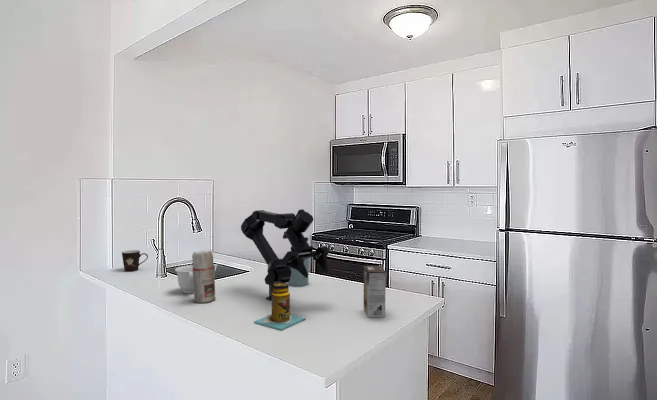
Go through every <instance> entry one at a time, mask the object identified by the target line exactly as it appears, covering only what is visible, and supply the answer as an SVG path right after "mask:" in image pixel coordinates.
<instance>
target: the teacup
mask: <svg viewBox="0 0 657 400" xmlns="http://www.w3.org/2000/svg"><path fill="white" fill-rule="evenodd" d="M174 271H175V272H176V276H177V277H176V278H177V281H178V286H179V288H180V289H182V290H183V293H184V294H194V285H193V264H191V265H189V264H188V265H183V266H182V265H181V266H179V267H176V268H175V269H174Z"/></svg>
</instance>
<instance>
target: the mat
mask: <svg viewBox="0 0 657 400" xmlns="http://www.w3.org/2000/svg"><path fill="white" fill-rule="evenodd" d="M270 315H272V313H271V314H270ZM290 315H292V317H291V321H290V323H264V321H265V319H266V317H267V315H266V316H264V317H261V318H259V319H256V320H253V323H254V324H256V325H260V326H264V327H267V328H271V329H275V330H279V331H282V332H283V331H284V330H287V329H289V328H291V327H293V326H294V325H298V324H299V323H302V322H303V321H306V317H303V316H301V315H295V314H291V313H290Z"/></svg>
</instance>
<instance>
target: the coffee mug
mask: <svg viewBox="0 0 657 400" xmlns="http://www.w3.org/2000/svg"><path fill="white" fill-rule="evenodd" d="M143 255H145V256H146V258H145V259H144V260H143V261H142V262H140V258H141V256H143ZM121 257H122V264H123V268H124V272H125V273H133V272H138V271H139V266H140V265H141V264H143V263H145V262H146V261H147V260H148V258H149V256H148V254H147V253H145V252H143V253H141V251H140V250H137V249H131V250H130V249H129V250H124V251H121Z"/></svg>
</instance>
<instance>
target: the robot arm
mask: <svg viewBox="0 0 657 400" xmlns="http://www.w3.org/2000/svg"><path fill="white" fill-rule="evenodd" d="M313 222H314V216H313V215H312V214H310V213H309V212H308V211H305V210H304V208H303V209H302V208H301V209H298V210H297V213H296V214H295V213H293V212H290V213H289V212H288V213H277V212H276V213H275V212H272V211H266V210H264V209H261V210H254V211H252V214H250V215H249V216H247V217H246V218H245V219H244V220H243V222H242V223H241V225H240V231H241V232H242V233H243V235H244V236H245V238H248V239H249V240H251V241H252V242H253V243H254V245H255V247H256V249H257V250H258V251H259V253H260V255H261V256H262V258H263V259H264V262H265V263H266V265H267V274H266V275H265V277H264V283H265V285H268V296H267V297H266V298H265V299H266V300H270V301H272V292H273V284H275V283H287V284H288V283H289V281H290V277H291V269H290V268H293V269H296V270H297V271H299V272H300V273H301V274H302V275H303V276H304V277H306V278H307V277H308V278H309V275H308V273H307V270H306V268H305V265H304V260H305V259H306V258H309V259H311V258H313V260H314V261H315V264H318V265H319V266H320V268H321V269H322V271H323V272H324V273H325V274H328V273H329V271H328V270H329V269H328V268H329V267H328V255H329V254H330V251H331V250H330V249H329V247H328V246H325V245H324V246H322V245H321V246H317V248H316V249H315V250H314V251H313V249H314V246H313V245H311V246H310V244H309V242H308V241H309V238H308V237H307V236H306V237H305V235H304V233H305V232H307V230H308V229H309V227H310V226H311V224H312V223H313ZM266 223H268V224H273V225H274V227H276V228H277V229H279V230H283V229H284V230H285V229H286V230H285V231H284V232H283V235H282V239H284V240H286V239H287V240H288V241H289V243H290V245H291V246H290V250H289V251H287V252H286V253H285V254H284V256H283V257H282V258H279V257H278V255H277V254H276V253H275V250H274V249H273V248H272V246H271V245H270V243H269V241H268V240H267V238H266V236H265V235H264V226H265V224H266Z"/></svg>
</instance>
